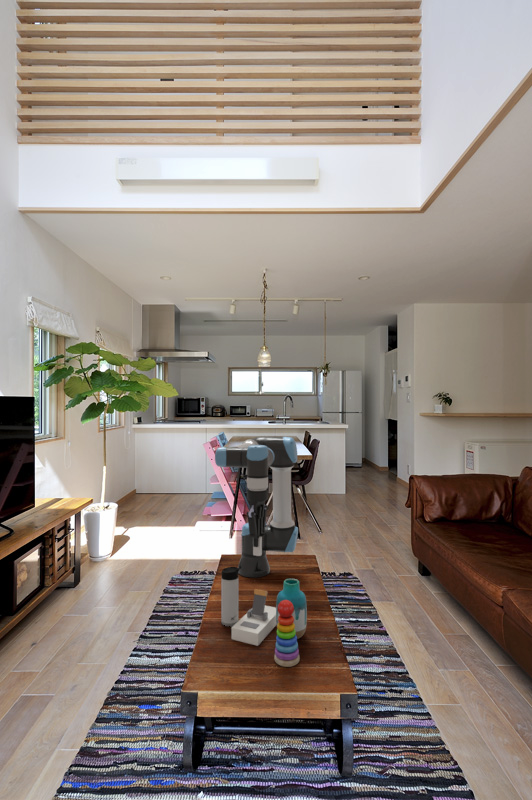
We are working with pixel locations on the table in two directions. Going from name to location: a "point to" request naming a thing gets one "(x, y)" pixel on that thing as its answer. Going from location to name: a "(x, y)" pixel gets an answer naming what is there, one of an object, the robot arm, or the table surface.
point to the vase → (294, 605)
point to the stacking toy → (286, 636)
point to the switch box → (254, 626)
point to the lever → (259, 603)
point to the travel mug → (229, 596)
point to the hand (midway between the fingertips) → (257, 554)
